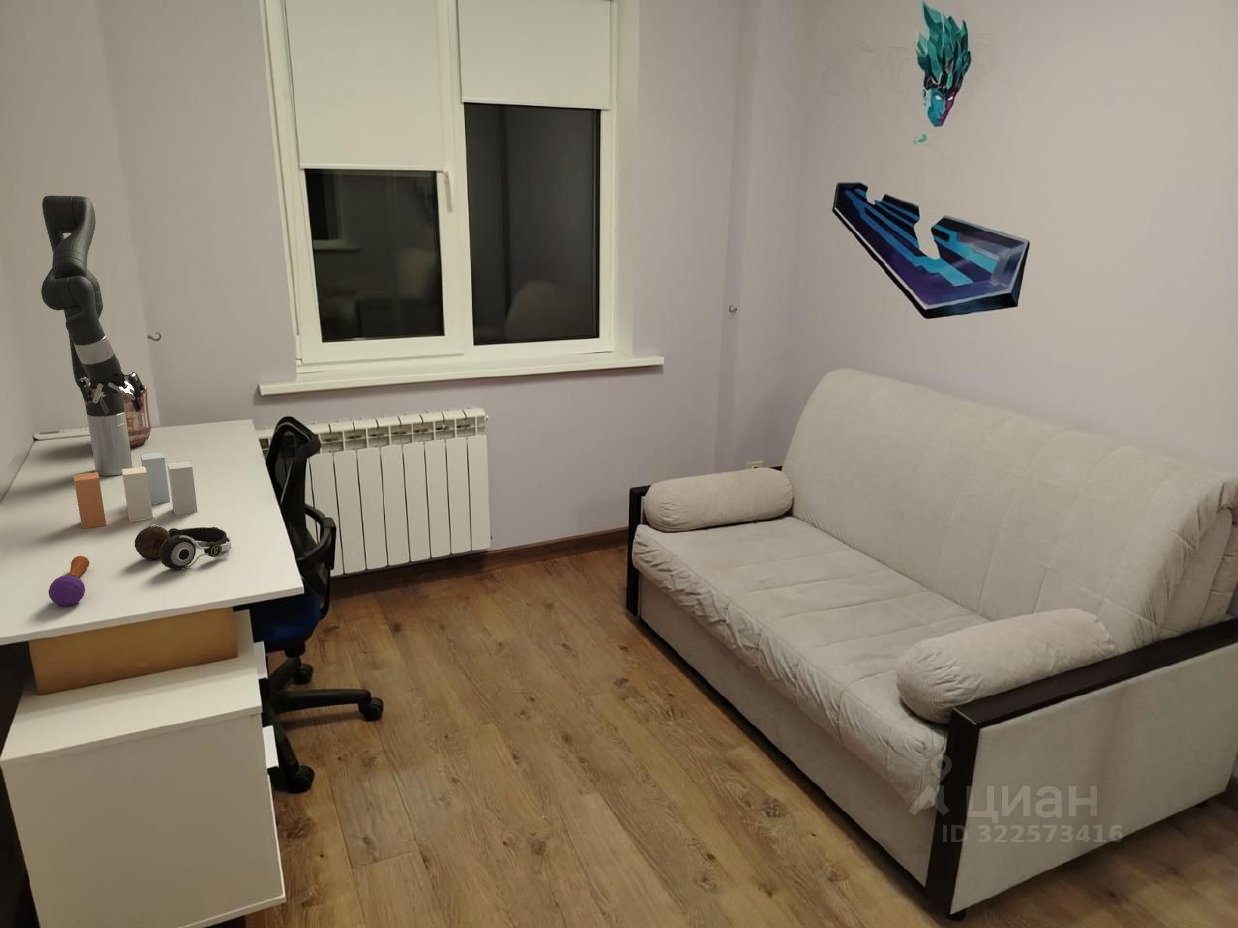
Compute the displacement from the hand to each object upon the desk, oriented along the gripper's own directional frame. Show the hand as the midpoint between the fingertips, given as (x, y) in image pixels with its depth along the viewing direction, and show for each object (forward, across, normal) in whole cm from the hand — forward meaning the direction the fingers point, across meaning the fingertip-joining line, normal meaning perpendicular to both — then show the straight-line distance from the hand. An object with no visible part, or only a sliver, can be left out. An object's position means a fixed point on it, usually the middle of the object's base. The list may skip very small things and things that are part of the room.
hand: (122, 412), depth 219 cm
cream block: (+18, -6, +22) cm, 29 cm away
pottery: (+32, +28, -38) cm, 57 cm away
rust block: (+16, +2, +26) cm, 31 cm away
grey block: (+20, -15, +17) cm, 30 cm away
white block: (+21, -5, +10) cm, 24 cm away
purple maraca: (+7, -12, +61) cm, 62 cm away
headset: (+14, -27, +44) cm, 53 cm away
